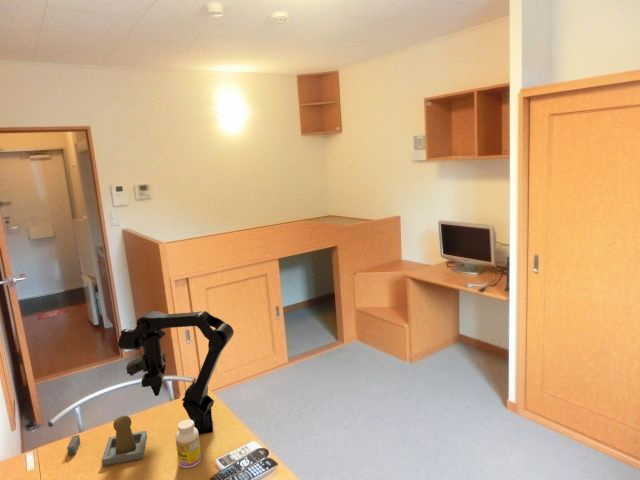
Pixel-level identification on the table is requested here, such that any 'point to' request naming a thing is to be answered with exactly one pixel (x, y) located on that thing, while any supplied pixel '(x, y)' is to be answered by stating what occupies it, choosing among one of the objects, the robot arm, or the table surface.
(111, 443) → the tray
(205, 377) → the robot arm
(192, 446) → the supplement bottle
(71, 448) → the bar
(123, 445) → the cork
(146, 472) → the table surface
